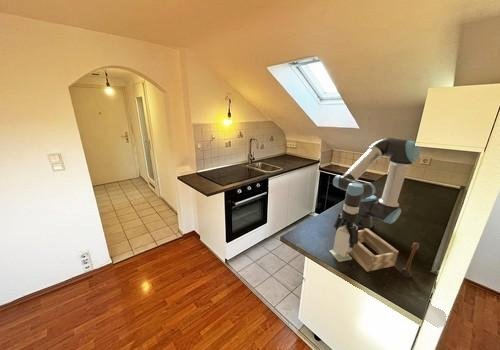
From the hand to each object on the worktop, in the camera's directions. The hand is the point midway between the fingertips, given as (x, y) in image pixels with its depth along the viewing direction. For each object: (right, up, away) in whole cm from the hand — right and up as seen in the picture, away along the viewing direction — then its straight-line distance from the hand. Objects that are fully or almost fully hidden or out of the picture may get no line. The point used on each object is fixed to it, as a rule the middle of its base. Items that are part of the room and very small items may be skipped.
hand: (342, 245), depth 119 cm
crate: (+15, -7, +3) cm, 17 cm away
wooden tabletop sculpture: (+29, -12, -10) cm, 33 cm away
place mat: (0, -7, +2) cm, 7 cm away
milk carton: (0, -5, +2) cm, 5 cm away
